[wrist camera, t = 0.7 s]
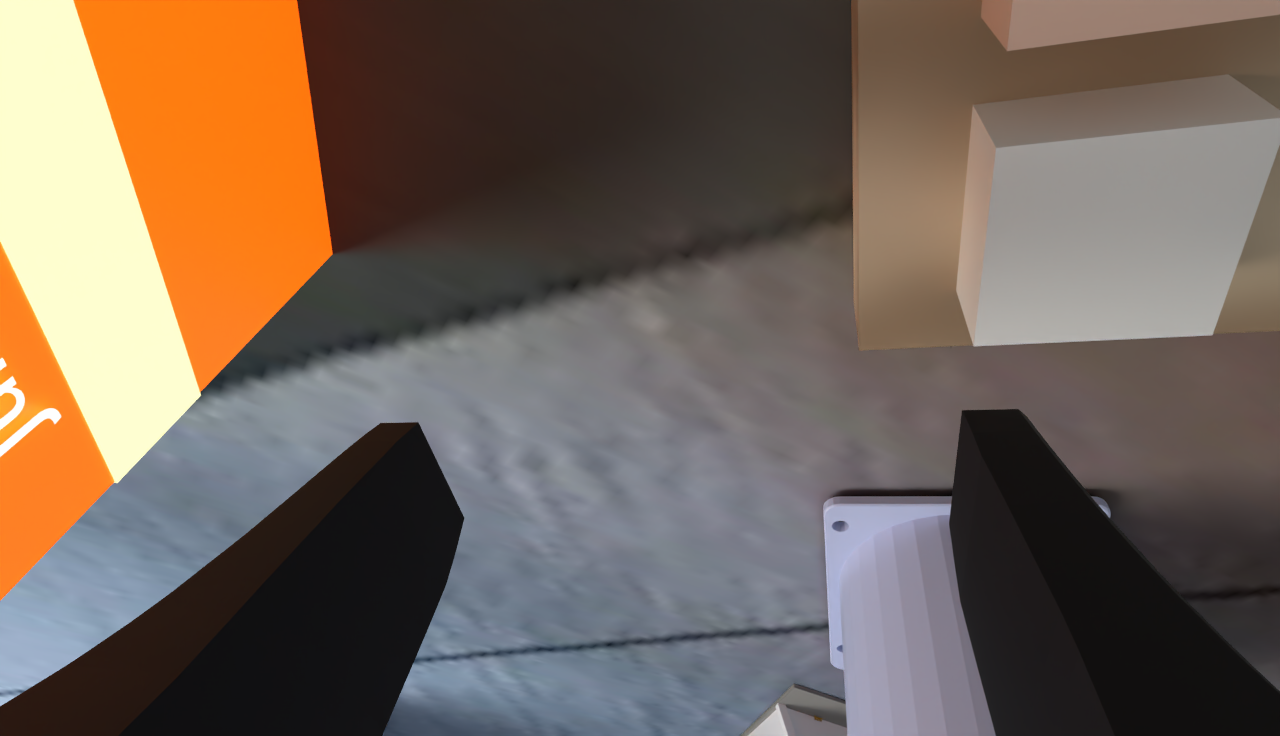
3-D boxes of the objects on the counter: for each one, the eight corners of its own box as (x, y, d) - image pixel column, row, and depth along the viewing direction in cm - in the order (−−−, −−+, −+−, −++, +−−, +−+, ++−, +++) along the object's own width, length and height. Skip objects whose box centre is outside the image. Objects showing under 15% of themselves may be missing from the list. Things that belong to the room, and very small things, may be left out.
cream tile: (1169, 276, 15) (1211, 335, 13) (956, 290, 16) (973, 346, 14) (1228, 73, 12) (1290, 116, 11) (972, 104, 13) (996, 148, 12)
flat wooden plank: (1322, 273, 16) (1378, 326, 15) (853, 303, 19) (859, 350, 17) (1686, -558, 9) (1868, -625, 8) (848, -337, 11) (856, -354, 10)
